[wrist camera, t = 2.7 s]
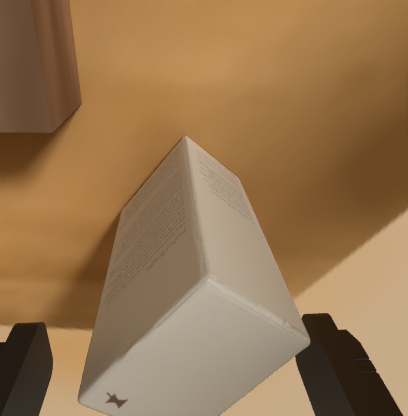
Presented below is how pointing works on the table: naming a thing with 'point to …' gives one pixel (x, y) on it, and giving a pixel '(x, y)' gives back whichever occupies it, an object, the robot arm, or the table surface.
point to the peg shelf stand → (37, 66)
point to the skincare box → (188, 298)
